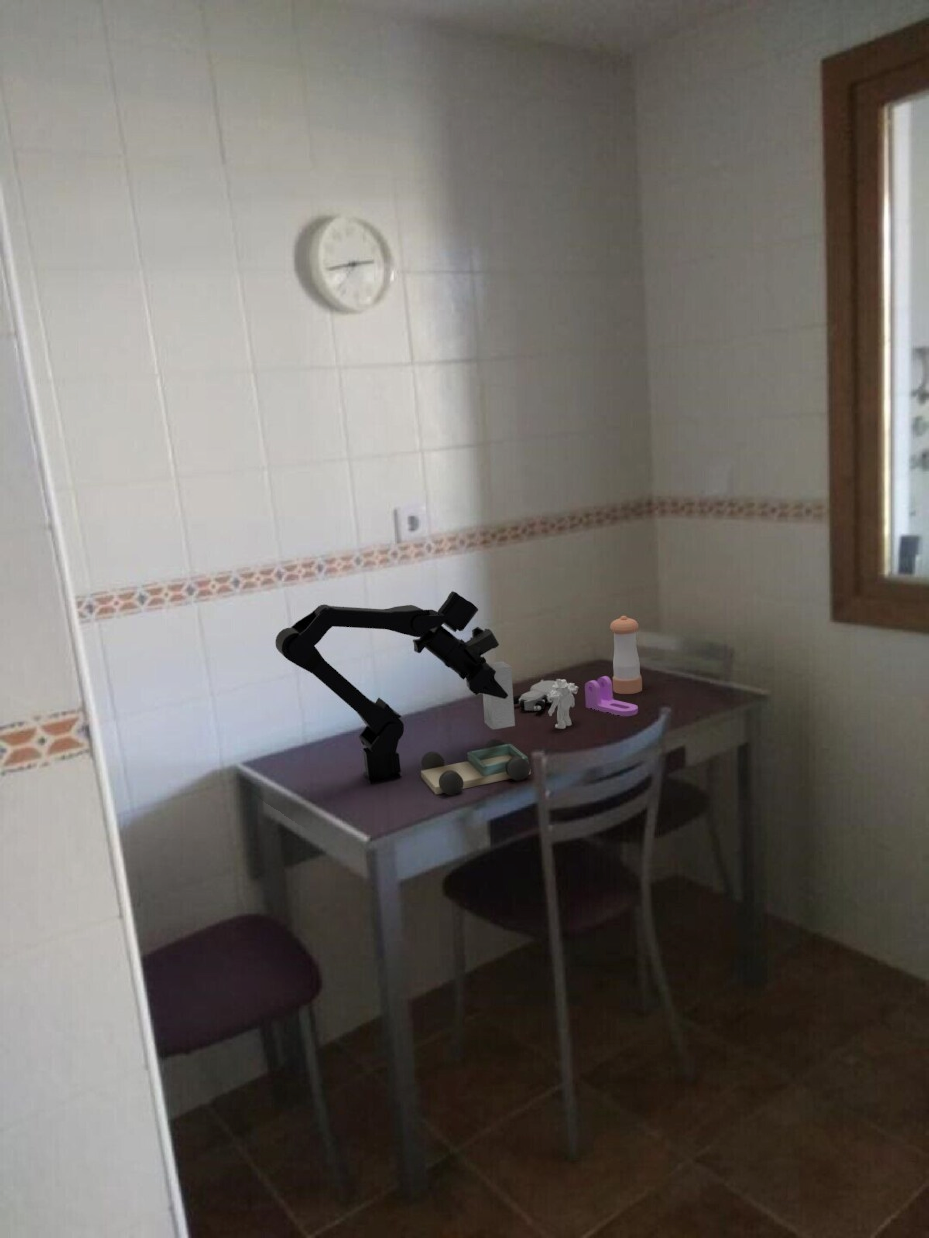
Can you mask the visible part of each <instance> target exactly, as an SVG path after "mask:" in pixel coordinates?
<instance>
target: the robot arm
mask: <svg viewBox="0 0 929 1238" xmlns="http://www.w3.org/2000/svg"><path fill="white" fill-rule="evenodd" d="M478 611H479V608H478V607H477V606H476V605H475V604H474V603H472V602H471V601H470V600H467V599H466V598H464V597H463V596H461V595H460V594H459V593H458V592H456V591H453V590H452V591H451V592H450V593H449V594H448V596H447V598H446V599H445V601H444V602H443V604H442V605H441V606H440V607H439V609H438V610H437V611H436V610H435V609H423V608H420V607H418V606H416V605H413V604H406V605H398V606H393V607H389V608H370V607H369V608H367V607H352V606H351V607H350V606H335V605H328V604H320V605H318V606H317V607H316V608H315V609H314V610H312V612H310V613H309V614H307V615H305V616H304V617H303V618H301V619H299V620H298V621H296V622H294V624H293V625H292V626H291V627H285V628H283V629H282V630H281V631H279V632H278V634H277V635H276V637H275V648H276V649H277V651H278V652H279V653H280V654H281V655H282V656H283V657H284V658H285V659H286V660H287V661H289V662H291V663H293V664H295V665H296V666H298V667H299V668H301V669H303V670H305V671H307V672H308V673H310V674H313V676H315V678H317V679H318V680H319V681H320V682H322V683H323V684H324V685H325V686H326V687H327V688H328V689H329V690H331V691H332V692H333V693H334V694H335V695H337V696H338V697H339V699H341V700H342V701H344V702H345V704H347V705H348V706H349V707H350V708H351V709H353V710H354V711H355V712H356V714H357V715H358V716H359V717H360V719H361V720H362V722H363V723H364V724H365V728H364V729H363V730H362V731H361V732H360V734H359V736H358V739H359V740H360V742H361V744H362V745H363V746H364V747H363V748H362V753H363V762H364V768H365V769H364V770H365V771H364V772H363V775H364V776H365V779H367V781H368V782H369V784H371V785H373V784H377V783H381V782H387V781H393V780H397V779H401V778H402V775H401V774H400V773H401V771H402V770H401V761H400V760H401V759H400V753H399V752H398V751H397V750H398V746H399V745H398V744H399V742H400V739H401V738H402V737H403V735H404V731H405V724H404V722H403V721H402V720H401V718H402V715H401V714H400V713H398V712H397V711H395V709H393V708H392V707H391V706H390V705H389V704H388V702H386V701H385V700H383V699H382V698H381V697H378V698H377V699H376V701H373V700H371V699H369V698H368V697H367V696H366V695H365V694H364V693H363V692H362V691H360V690H359V689H358V688H357V687H355V686H354V685H353V684H352V683H351V682H350V681H349V680H348V679H347V678H346V677H344V676H343V675H342V674H341V673H340V672H339V671H338V670H337V669H335V668H334V667H333V666H332V665H331V664H330V663H329V662H327V661H326V659H325V658H324V657H323V656H322V654H321V653H320V651H319V650H318V649H317V647H316V645H317V644H318V643H320V641H321V640H322V639H323V637H324V636H325V635H326V634H327V632H329V630H330V629H332V628H333V627H336V628H337V627H339V628H356V629H357V628H359V629H373V630H375V629H376V630H387V631H392V632H394V633H399V634H402V635H405V636H410V637H415V638H416V639H415V638H414V639H412V643H413V651H414V652H415V653H417V654H421V653H422V651H424V649H426V650H427V651H429V652H430V653H431V654H432V655H433V656H435V658H437V659H439V661H441V662H442V663H443V664H444V666H446V667H447V668H449V669H451V670H452V671H454V673H456V674H457V675H458V677H460V679H462V680H465V681H466V687H467V688H468V690H469V691H470V692H472V693H473V694H474V695H476V696H477V695H479V694H482V695H483V694H487V695H491V696H495V697H499V698H503V699H506V698H507V697H508V694H507V693H506V692H505V691H504V689H503V688H502V687H501V686H500V685H499V683H498V682H497V681H496V680H495V678H494V675H495V673H496V671H495V670H494V669H493V668H492V667H491V666H490V665H489V664H488V662H487V659H486V658H485V656H482V655H484V654H486V653H488V652H489V651H491V650H492V649H496V648H498V647H499V645H500V644H499V641H498V640H497V638H496V636H495V634H494V633H493V631H492V630H491V629H490V628H484V630H483V629H482V628H480V627H479V626H476V627H474V628H473V629H472V630H471V635H472V636H471V637H470V638H469V639H468V640H467V641H464V640H463V639H461V638H457V636H455V635H453V633H456V632H457V631H459V632H463V631H464V629H466V628H467V626H468V625H469V624H470V622H471V620H472V619H473V618H474V617H475V616H476V614H477V613H478ZM443 625H444V626H445V627H444V626H443ZM446 627H447V628H448V629H449V630H450V631H452V632H453V633H451V632H450V631H449V630H448V629H446Z"/></svg>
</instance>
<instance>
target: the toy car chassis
mask: <svg viewBox="0 0 929 1238" xmlns="http://www.w3.org/2000/svg"><path fill="white" fill-rule="evenodd" d="M466 755H467V761H462V762H457V763H452V764H447V765H445V764H446V763H445V759H444V758H443V756H441V755H440V753H439V752H437V751H433V750H432V751H428V752H426V753H425V754H424V755H423V756H422V759H421V762H420V763H421V767H422V769H423V770H420V776H421V778H420V779H422V780H423V781H424V783H426V785H427V787H429V788H430V790H431V791H432V792H433V793H434V794H435V795H436V796H437V795H441V794H446V795H448V796H455V795H457V794H459V793H460V792H461V791H462V790H464V789H468V788H473V787H477V786H478V787H479V786H483V785H487V784H492V783H496V782H502V781H505V780H510V779H511V780H514V781H516V782H519V781H520V782H521V781H523V780H525V779H526V778H528V776H529V775H531V767H530V764H529V757H528V756H527V755H526V754H525V753H523V752H522V751H520V750H519V749H518V748H517V747H516V746H514V745H513V744H512V743H507V744H506V743H505V742H504V741H502V739H499V738H491V739H490V740H489V741H488V742H487V743H486V744H485V748H483V749H482V748H481V749H477V750H472V751H467V753H466Z"/></svg>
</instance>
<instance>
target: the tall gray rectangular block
mask: <svg viewBox="0 0 929 1238" xmlns="http://www.w3.org/2000/svg"><path fill="white" fill-rule="evenodd" d="M487 663H488V662H487ZM488 664H489V665H490V666H491V667H492V668H493V669H494V670H495V671H496V673H495V675H494V678H495V680H496V681H497V682H498V683H499V685H500V686H501V687H502V688H503V689H504V691H505V692H506V693H507V694H508V697H507V698H506V699H503V698H499V697H495V696H491V695H487V694H482V699H483V702H482V704H483V717H484V724H485V725H487V727H489V728H490V729H491V730H498V729H504V728H505V729H506V728H510V727H515V726H516V723H515V722H516V719H515V706H514V704H513V697H514V690H513V678H512V676H513V675H512V666H511V665H509V664H508V663H506V662H505V661H503V660H502V661H496V662H495V661H494V662H489V663H488Z"/></svg>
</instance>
